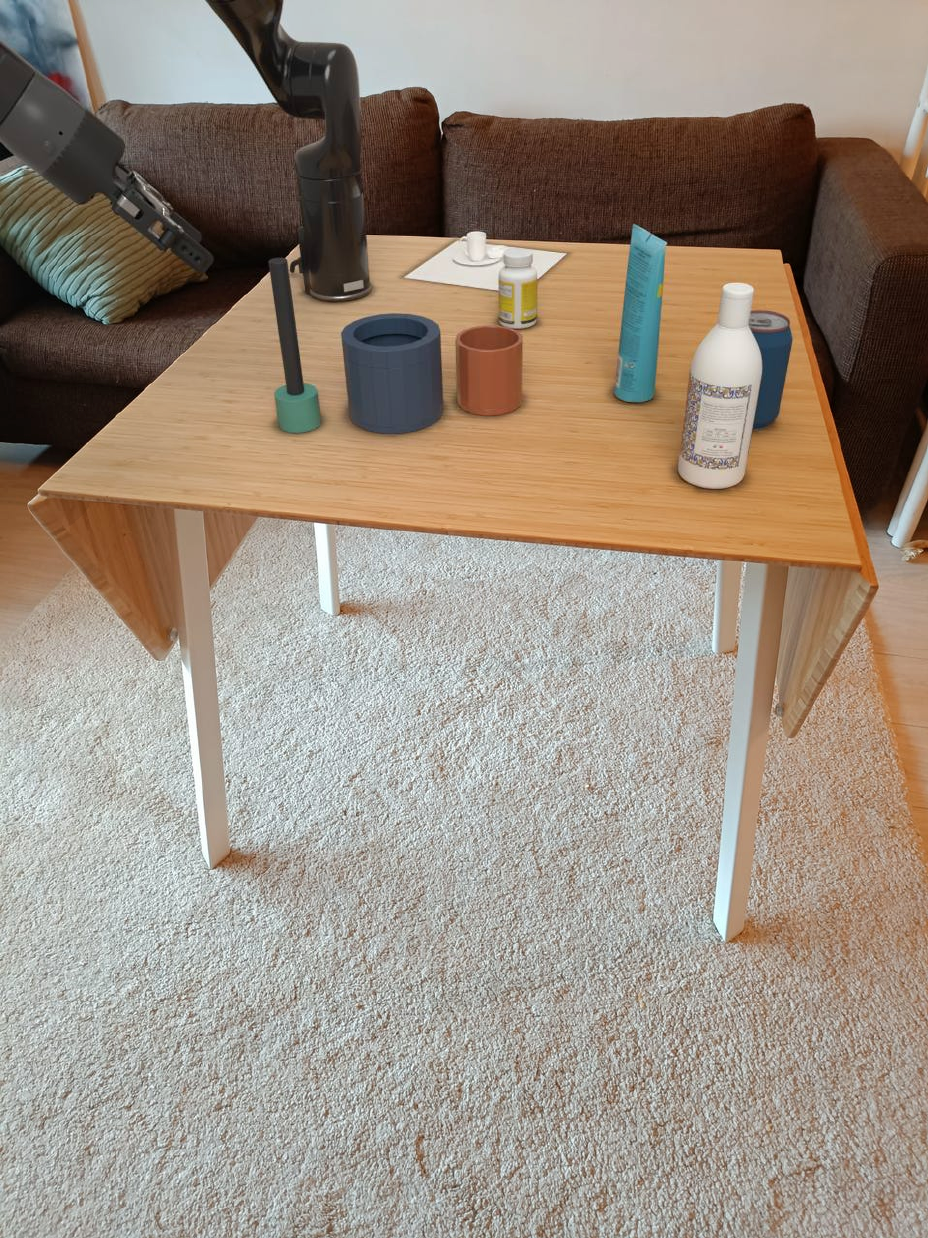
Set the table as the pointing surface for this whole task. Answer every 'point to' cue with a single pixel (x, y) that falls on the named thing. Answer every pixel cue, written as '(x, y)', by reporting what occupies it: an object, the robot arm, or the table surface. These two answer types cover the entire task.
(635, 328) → the tube
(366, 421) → the jar
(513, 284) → the supplement bottle
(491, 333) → the crock
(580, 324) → the table surface
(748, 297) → the bath foam
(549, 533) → the table surface
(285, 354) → the sponge wand
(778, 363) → the soda can
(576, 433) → the table surface
